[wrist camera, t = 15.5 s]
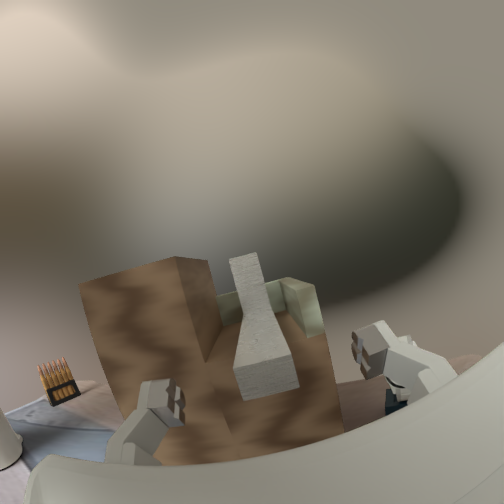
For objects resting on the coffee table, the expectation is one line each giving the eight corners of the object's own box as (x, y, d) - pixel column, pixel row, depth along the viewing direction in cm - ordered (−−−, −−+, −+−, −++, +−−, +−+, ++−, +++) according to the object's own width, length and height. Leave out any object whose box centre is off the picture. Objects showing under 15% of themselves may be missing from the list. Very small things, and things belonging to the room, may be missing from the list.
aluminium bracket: (243, 401, 13) (199, 252, 13) (248, 327, 31) (230, 259, 31) (299, 387, 13) (260, 235, 13) (274, 320, 31) (256, 253, 31)
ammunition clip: (52, 407, 48) (36, 366, 49) (50, 405, 49) (34, 365, 50) (81, 394, 58) (66, 356, 58) (78, 393, 59) (64, 355, 59)
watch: (385, 435, 24) (378, 359, 24) (388, 400, 31) (380, 332, 31) (429, 426, 21) (429, 348, 22) (425, 392, 28) (420, 323, 29)
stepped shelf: (171, 499, 20) (78, 284, 21) (195, 432, 36) (142, 277, 37) (350, 470, 20) (297, 223, 21) (319, 407, 36) (278, 241, 37)
